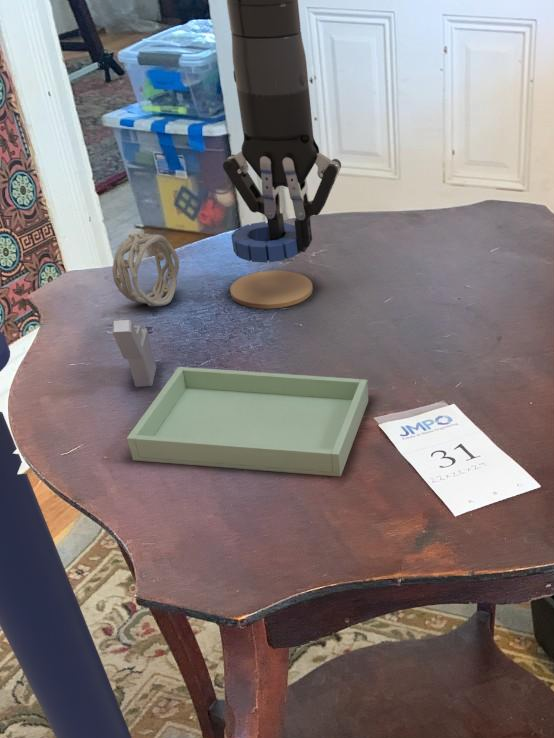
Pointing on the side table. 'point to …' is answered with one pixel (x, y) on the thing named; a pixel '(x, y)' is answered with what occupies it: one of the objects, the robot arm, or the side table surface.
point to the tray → (252, 421)
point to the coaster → (271, 289)
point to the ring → (264, 243)
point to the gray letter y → (136, 351)
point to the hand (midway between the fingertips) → (292, 248)
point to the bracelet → (132, 246)
